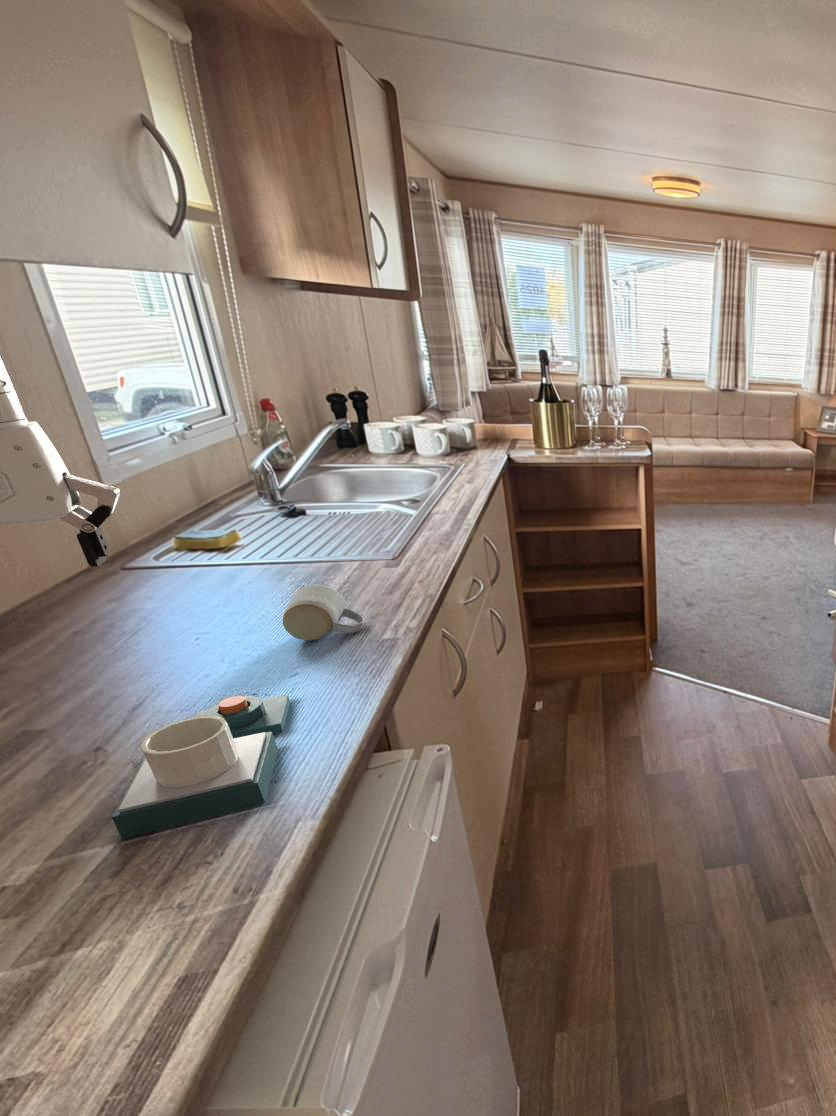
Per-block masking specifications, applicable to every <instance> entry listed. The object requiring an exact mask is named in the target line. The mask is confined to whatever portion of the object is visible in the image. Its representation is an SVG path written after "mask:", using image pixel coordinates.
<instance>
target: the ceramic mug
mask: <svg viewBox="0 0 836 1116" xmlns="http://www.w3.org/2000/svg"><path fill="white" fill-rule="evenodd" d="M343 617H344V618H348V619H351V620H353V621H355V622H356V623H357V624H342V623H339V622H340V621H341V619H342V618H343ZM364 623H365V618H364V616H362V615H361V614H360V613H358V612H357V611H354V610H352V609H349V608H346V602H345V599H344V597H343V596H342V595H341V593H339V592H338V591H337V590H335V589H334V588H332V587H330V586H327V585H324V584H323V585H321V584H309V585H305V586H303V587H301V588H299V589H298V590H297V591H296V592H295V593H294V594H293V596H292V598H291V599H290V601H289V603H288V605H287V606H286V608H285V610H284V612H283V615H282V625H283V628H284V630H285V631H286V632H287V633H288V634H289V635H290V636H292V637H294V638H296V639H298V640H302V641H307V642H308V641H318V640H320V639H324V638H325V637H327V636H328V635H329V634H331V633H332V632H333V631H334V632H338V633H344V634H347V633H348V634H352V633H356V632H357V633H358V632H359V631H361V630H362V629H363V626H364Z"/></svg>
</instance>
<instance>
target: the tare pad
mask: <svg viewBox="0 0 836 1116" xmlns="http://www.w3.org/2000/svg"><path fill="white" fill-rule="evenodd" d="M244 697H245V698H246V701H247V704H248V708H246V709H245V710H243V711H240V712H238V713H234V714H229V715H222V714H221V712H220V709H219V707H218V704H219V702H218V703H216V704H214V705H213V706H211V707H210V708H209V709H205V710H199V711H196V712H195V713H194V716H193V718H196V717H203V716H216V717H220V718H224V720H225V721H226V722H227V724H228V726H229V729H230V732H231V734H232V737H233V739H234V738H239V737H244V736H248V735H253V734H258V733H263V732H265V733H267V732H272V734H278V733H283V732H284V729H285V725H286V721H287V717H288V713H289V710H290V706H291V701H290V697H289V695H288V694H284V695H279V696H273V697H268V698H260V697H258V696H256V695H244Z"/></svg>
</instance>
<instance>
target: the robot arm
mask: <svg viewBox="0 0 836 1116" xmlns="http://www.w3.org/2000/svg"><path fill="white" fill-rule="evenodd" d="M80 493H82V494H85V495H89V496H93V497H94V498H97V500H98V501H97V506H96V508H95V509H94V510H93V511H90V510H88V509H86V507H83V506H82V499H81V495H80ZM120 495H121V490H120V489H119V488H118V487H115V486H111V485H107V484H103V483H100V482H97V481H93V480H89V479H85V478H83V477H78V476H74V475H71V473H70V472H69V470H68V468H67V466H66V464H65V462H64V460H63V459H62V457H61V455H60V454H59V452H58V450H57V449H56V447H55V446H54V444H53V443H52V442H51V439H50V438H49V437H48V435H47V434H46V433H45V431H44V430H43V429H42V427H41V426H40V425H39V423H38V422H36V421H29V420H28V419H27V416H26V414H25V411H24V410H23V407H22V404H21V402H20V400H19V397H18V395H17V393H16V391H15V388H14V386H13V383H12V381H11V379H10V376H9V374H8V372H7V370H6V367H5V364H4V361H3V360H2V358H1V356H0V525H1V526H2V525H13V524H26V523H27V524H28V523H39V522H49V521H55V520H56V521H57V520H59V519H60V520H61V521H64V522H66V523H67V524H69V525H70V526H72V527H74V528H76V529H78V530H79V532H78V533H77V534H76V539H77V541H78V543H79V545H80V548H81V550H82V553H83V555H84V558H85V560H86V562H87V564H88V566H89V567H92V568H94V567H100V566H101V565H102V564H103V563H105V562H106V561H107V560H108V557H109V556H110V554H111V550H110V546H109V545H108V542H107V540H106V537H105V535H104V532H103V529H102V526H103V525H104V523H105V522H106V521H107V520H108V519H109V518H110V517H111V516H112V515H113V513H114V512H115V511H116V506H117V504H118V501H119V499H120Z"/></svg>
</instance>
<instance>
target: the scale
mask: <svg viewBox="0 0 836 1116" xmlns="http://www.w3.org/2000/svg"><path fill="white" fill-rule="evenodd" d="M233 740H234V742H235V745H236V748H237V750H238V759H237V761H236V763H235V764H234V765H233V766H232V767H231V768H229V769H228V770H227V771H225V772H223V773H222V774H220V775H218V776H216V777H214V778H212V779H209V780H207V781H204V782H201V783H198V784H194V785H190V786H185V787H176V788H170V787H163V786H161V785H159V784H158V783H157V782H156V779H155V778H154V776H153V774H152V771H151V769H150V767H149V765H148V762H147V760H146V758H145V757H144V758H143V759H142V760H141V762H140V764H139V766H138V768H137V769H136V772H135V774H134V775H133V777H132V779H131V781H130V782H129V784H128V786H127V788H126V790H125V792H124V794H123V795H122V797H121V798H120V801H119V802H118V805H117V806H116V808H115V810H114V812H113V814H112V815H111V820H112V822H113V824H114V826H115V828H116V830H117V831H118V834H119V836H120V838H121V839H127V838H131V837H134V836H138V835H139V836H140V835H143V834H146V833H150V832H154V831H159V830H163V829H167V828H170V827H174V826H178V825H182V824H187V823H191V822H194V821H198V820H203V819H206V818H211V817H215V816H219V815H221V814H226V813H230V812H234V811H239V810H242V809H246V808H250V807H254V806H258V805H262V804H265V803H266V801H267V798H268V797H267V796H268V792H269V788H270V784H271V781H272V776H273V773H274V769H275V765H276V760H277V757H278V753H279V749H278V746H277V742H276V740H275V736H274V735H273V734H272V732H267V733H265V732H263V733H258V734H253V735H248V736H244V737H239V738H234V739H233Z"/></svg>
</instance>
